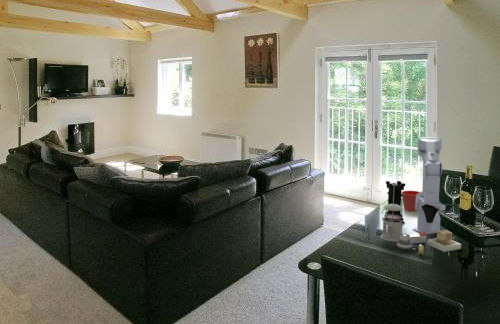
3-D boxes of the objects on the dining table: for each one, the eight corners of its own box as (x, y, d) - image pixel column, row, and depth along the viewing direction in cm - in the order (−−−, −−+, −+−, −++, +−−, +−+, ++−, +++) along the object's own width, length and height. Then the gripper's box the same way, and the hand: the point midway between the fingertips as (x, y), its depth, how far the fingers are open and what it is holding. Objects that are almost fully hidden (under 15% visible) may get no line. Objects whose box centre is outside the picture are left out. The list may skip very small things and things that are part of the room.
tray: (443, 241, 168) (443, 236, 167) (460, 248, 159) (461, 243, 159) (426, 244, 165) (427, 239, 164) (444, 252, 156) (444, 246, 156)
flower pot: (396, 207, 222) (397, 191, 220) (412, 206, 225) (413, 189, 223) (409, 212, 212) (410, 195, 210) (426, 211, 215) (427, 193, 213)
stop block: (442, 247, 159) (443, 233, 159) (436, 244, 163) (437, 230, 162) (451, 247, 160) (452, 233, 159) (444, 243, 164) (445, 229, 163)
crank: (402, 244, 160) (403, 235, 159) (397, 241, 164) (397, 232, 163) (427, 242, 162) (427, 233, 161) (421, 239, 166) (421, 230, 165)
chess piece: (404, 223, 193) (406, 184, 190) (388, 223, 193) (389, 184, 190) (398, 218, 201) (400, 180, 198) (383, 219, 201) (384, 180, 198)
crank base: (404, 243, 166) (405, 235, 166) (427, 253, 155) (427, 245, 154) (393, 245, 164) (393, 237, 164) (415, 255, 153) (415, 247, 152)
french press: (388, 242, 168) (391, 185, 164) (373, 233, 179) (375, 180, 175) (408, 240, 170) (411, 183, 166) (392, 231, 181) (394, 179, 178)
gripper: (411, 187, 168) (410, 218, 170) (435, 195, 154) (433, 228, 156) (425, 186, 170) (424, 217, 172) (450, 194, 156) (448, 227, 158)
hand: (429, 222), depth 164 cm, fingers closed
